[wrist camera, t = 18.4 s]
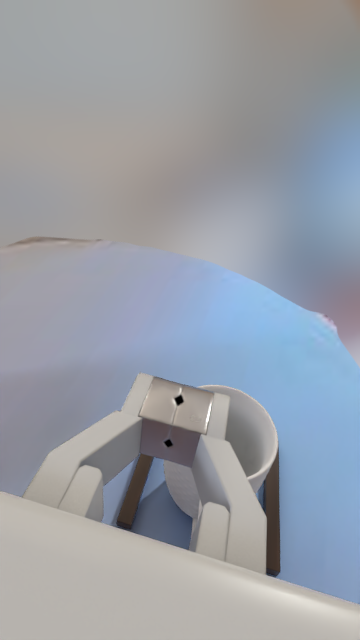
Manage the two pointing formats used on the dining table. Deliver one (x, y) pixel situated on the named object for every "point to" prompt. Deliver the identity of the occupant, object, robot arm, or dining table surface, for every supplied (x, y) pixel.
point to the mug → (247, 442)
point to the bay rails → (269, 507)
